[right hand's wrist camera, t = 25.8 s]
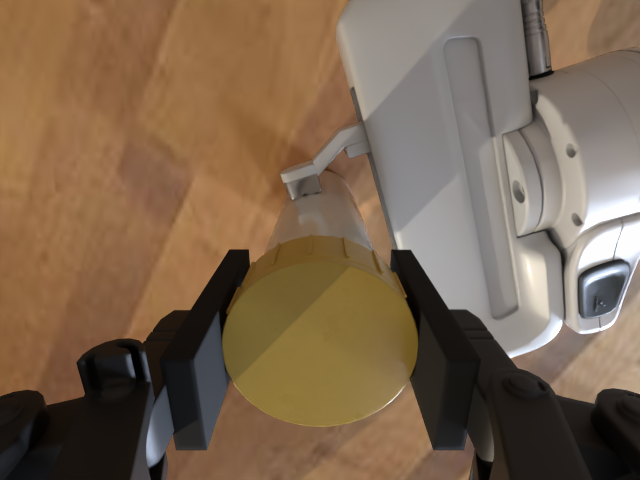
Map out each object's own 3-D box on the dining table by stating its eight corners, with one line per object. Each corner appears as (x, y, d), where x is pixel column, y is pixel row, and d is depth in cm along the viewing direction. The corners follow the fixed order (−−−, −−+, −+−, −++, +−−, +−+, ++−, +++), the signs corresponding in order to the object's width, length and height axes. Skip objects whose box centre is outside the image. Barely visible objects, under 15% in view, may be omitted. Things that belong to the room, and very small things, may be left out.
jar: (272, 204, 26) (207, 332, 11) (319, 154, 25) (318, 223, 10) (320, 248, 27) (321, 417, 12) (368, 203, 26) (432, 329, 11)
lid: (316, 406, 14) (315, 457, 12) (199, 309, 12) (176, 348, 10) (438, 316, 12) (461, 357, 10) (323, 195, 11) (324, 215, 9)
